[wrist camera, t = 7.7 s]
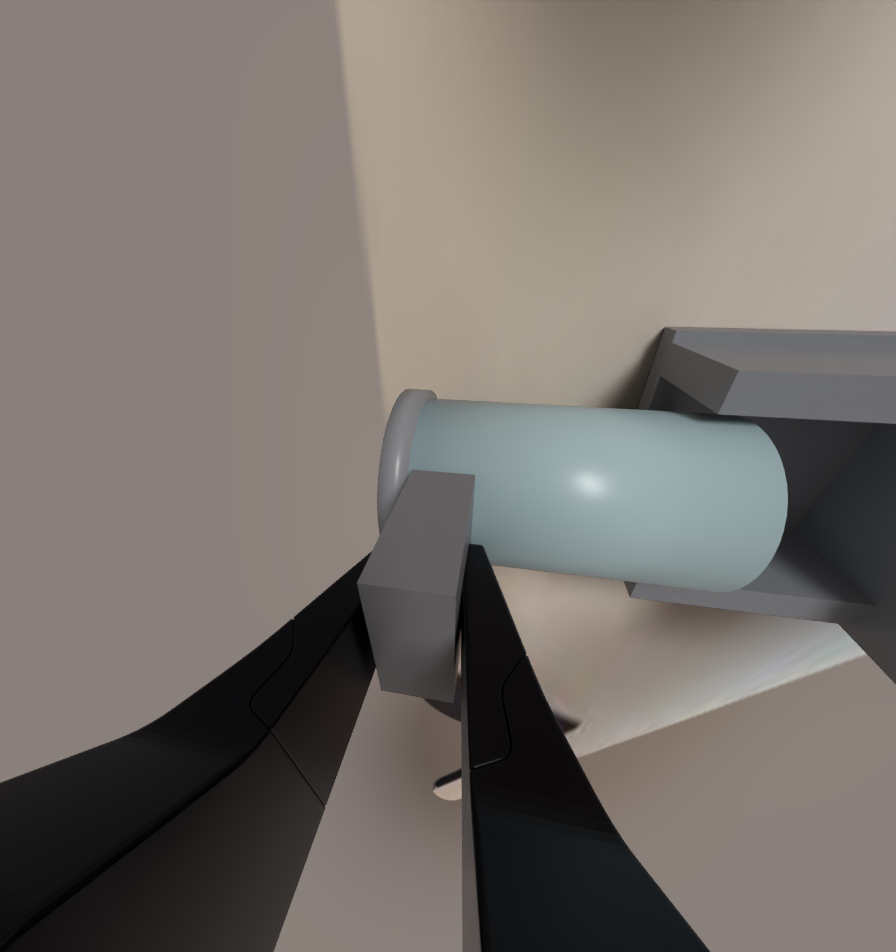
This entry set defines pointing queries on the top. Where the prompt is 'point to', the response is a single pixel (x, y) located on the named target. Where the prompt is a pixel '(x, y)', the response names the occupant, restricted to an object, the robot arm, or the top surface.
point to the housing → (804, 466)
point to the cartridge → (555, 512)
